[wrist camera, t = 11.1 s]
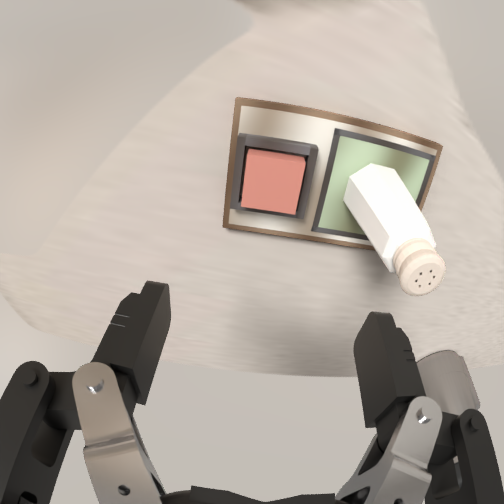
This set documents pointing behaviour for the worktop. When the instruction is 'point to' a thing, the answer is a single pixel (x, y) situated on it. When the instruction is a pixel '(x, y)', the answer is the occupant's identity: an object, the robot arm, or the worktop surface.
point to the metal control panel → (320, 167)
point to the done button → (272, 181)
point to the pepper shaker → (395, 228)
